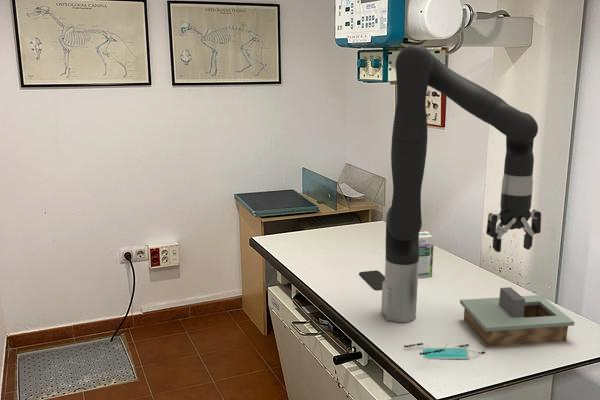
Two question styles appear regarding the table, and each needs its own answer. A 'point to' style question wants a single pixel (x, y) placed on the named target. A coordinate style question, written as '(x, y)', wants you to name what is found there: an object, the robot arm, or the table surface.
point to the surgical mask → (445, 353)
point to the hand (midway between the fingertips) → (511, 250)
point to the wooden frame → (518, 331)
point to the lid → (513, 312)
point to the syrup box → (425, 254)
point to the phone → (373, 279)
